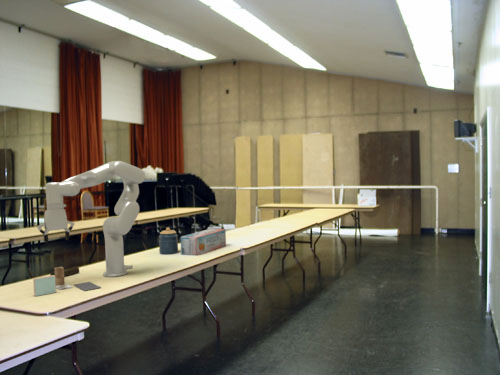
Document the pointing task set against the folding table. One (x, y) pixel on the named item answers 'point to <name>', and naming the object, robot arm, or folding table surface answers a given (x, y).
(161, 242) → the canister
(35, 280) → the tile
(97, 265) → the folding table surface
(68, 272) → the dark brown bar
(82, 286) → the mat
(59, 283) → the block on white plate
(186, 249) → the soda box
